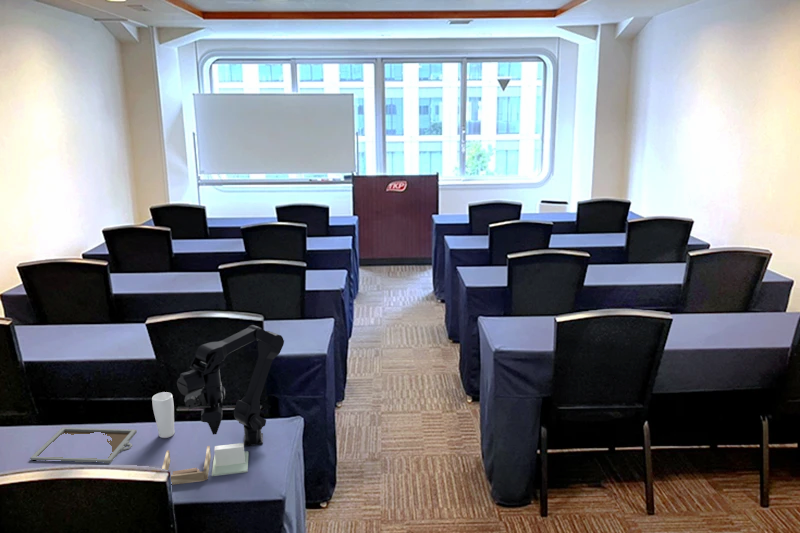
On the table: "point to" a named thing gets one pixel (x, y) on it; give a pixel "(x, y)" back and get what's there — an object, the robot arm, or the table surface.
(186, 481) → the rack
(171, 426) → the drinking glass
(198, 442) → the table surface
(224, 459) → the white block
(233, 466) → the mat
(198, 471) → the offcut stack
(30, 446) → the table surface
